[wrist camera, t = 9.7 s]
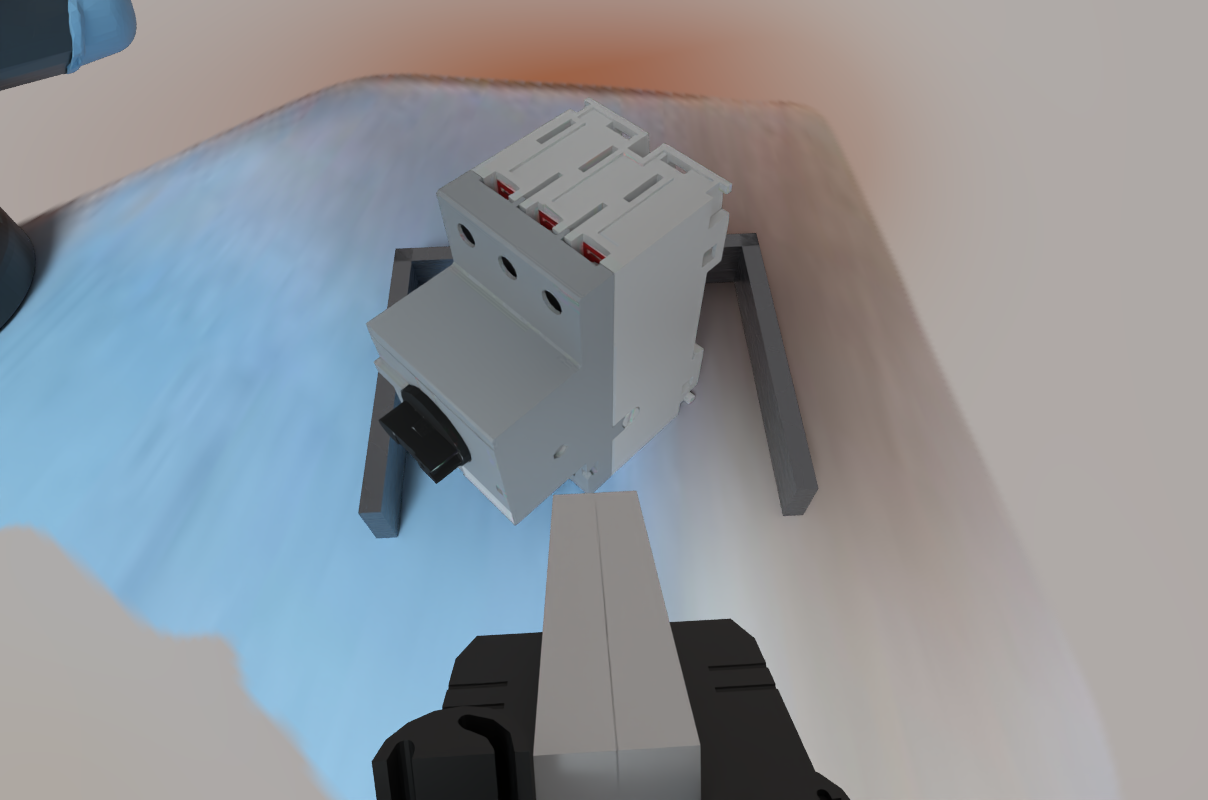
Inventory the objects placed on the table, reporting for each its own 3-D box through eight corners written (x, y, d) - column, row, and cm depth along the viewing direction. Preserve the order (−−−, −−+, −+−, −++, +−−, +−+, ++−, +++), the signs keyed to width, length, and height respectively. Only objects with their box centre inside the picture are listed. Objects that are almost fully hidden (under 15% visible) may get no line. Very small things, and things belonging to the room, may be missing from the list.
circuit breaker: (401, 480, 36) (290, 280, 24) (597, 324, 42) (593, 94, 29) (497, 581, 33) (429, 414, 21) (694, 399, 39) (736, 180, 26)
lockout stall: (408, 281, 43) (396, 246, 41) (746, 266, 44) (755, 230, 42) (376, 538, 34) (358, 513, 32) (803, 514, 35) (818, 488, 32)
